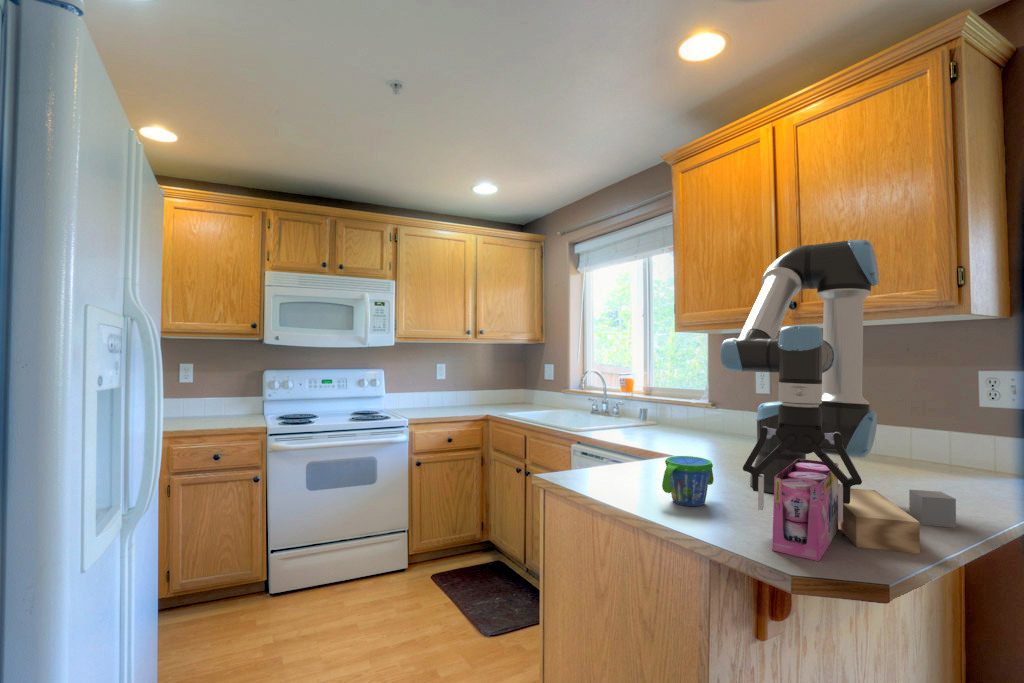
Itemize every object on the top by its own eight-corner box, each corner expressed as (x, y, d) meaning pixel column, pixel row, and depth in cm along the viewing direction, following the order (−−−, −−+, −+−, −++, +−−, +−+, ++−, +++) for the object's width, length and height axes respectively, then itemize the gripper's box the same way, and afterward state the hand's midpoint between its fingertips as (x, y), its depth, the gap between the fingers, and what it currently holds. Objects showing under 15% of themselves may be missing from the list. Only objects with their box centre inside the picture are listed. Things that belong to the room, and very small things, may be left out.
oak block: (856, 548, 99) (856, 516, 99) (824, 512, 121) (824, 486, 121) (919, 555, 96) (919, 522, 96) (875, 517, 118) (875, 490, 118)
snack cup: (679, 513, 119) (679, 467, 119) (647, 500, 128) (648, 458, 128) (729, 504, 125) (729, 461, 126) (696, 493, 135) (696, 453, 135)
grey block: (922, 525, 112) (922, 496, 112) (909, 516, 118) (909, 489, 118) (955, 527, 111) (955, 499, 111) (941, 519, 116) (941, 491, 116)
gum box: (819, 565, 91) (819, 485, 91) (769, 553, 96) (769, 478, 96) (839, 528, 109) (839, 462, 110) (796, 520, 114) (796, 457, 114)
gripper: (728, 402, 107) (727, 508, 106) (878, 410, 94) (878, 531, 94) (734, 399, 113) (733, 499, 113) (875, 407, 101) (875, 520, 100)
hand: (799, 514), depth 103 cm, fingers open, 13 cm apart
